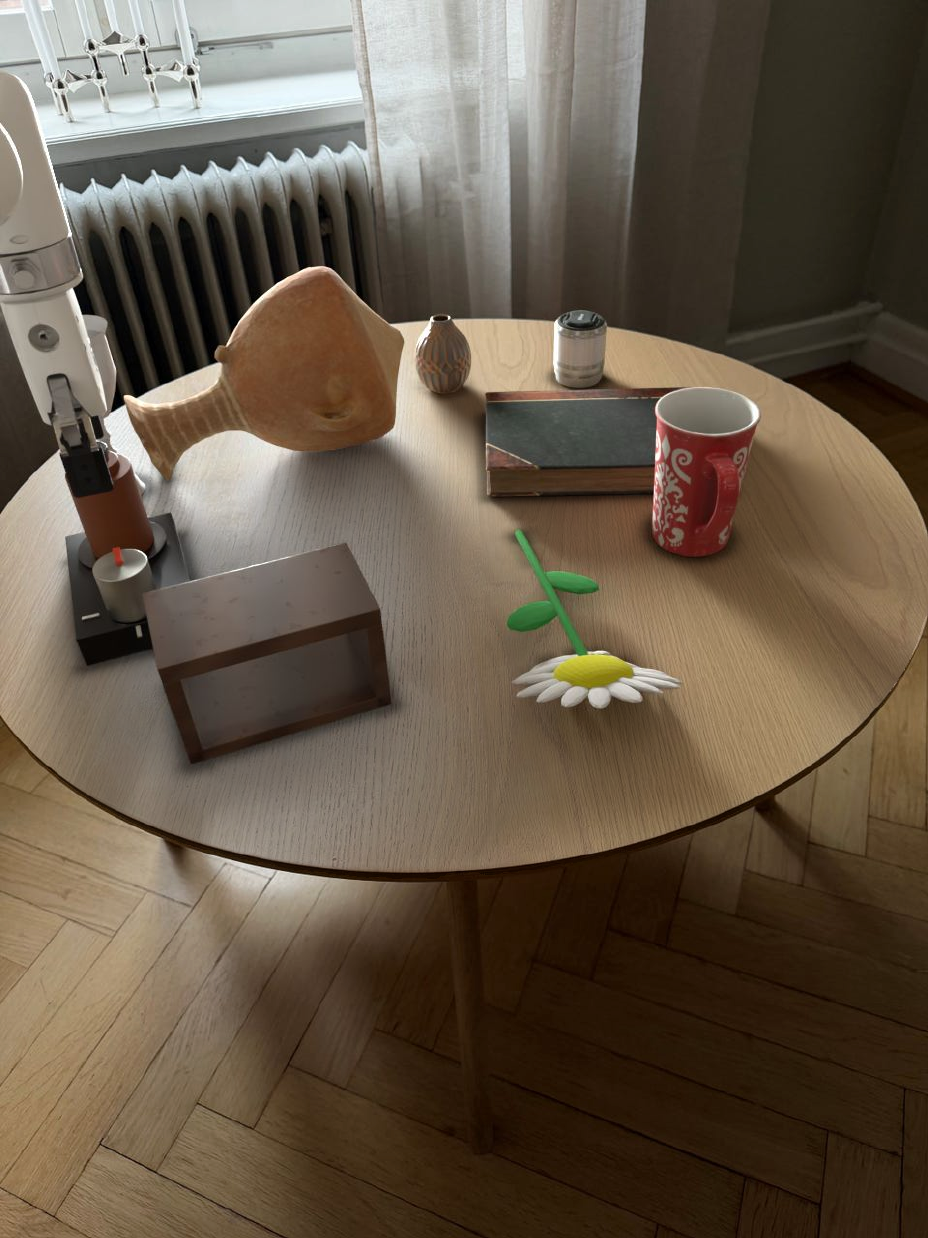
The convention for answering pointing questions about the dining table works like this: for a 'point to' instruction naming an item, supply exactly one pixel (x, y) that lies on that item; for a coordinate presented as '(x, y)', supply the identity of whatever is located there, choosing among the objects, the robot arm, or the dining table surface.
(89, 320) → the chalice
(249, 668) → the shelf
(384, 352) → the jug
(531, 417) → the book
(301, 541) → the dining table surface
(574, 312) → the camera lens
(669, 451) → the mug
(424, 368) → the vase
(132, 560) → the stove knob
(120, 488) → the bottle
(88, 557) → the burner
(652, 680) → the decorative flower
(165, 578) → the stove
